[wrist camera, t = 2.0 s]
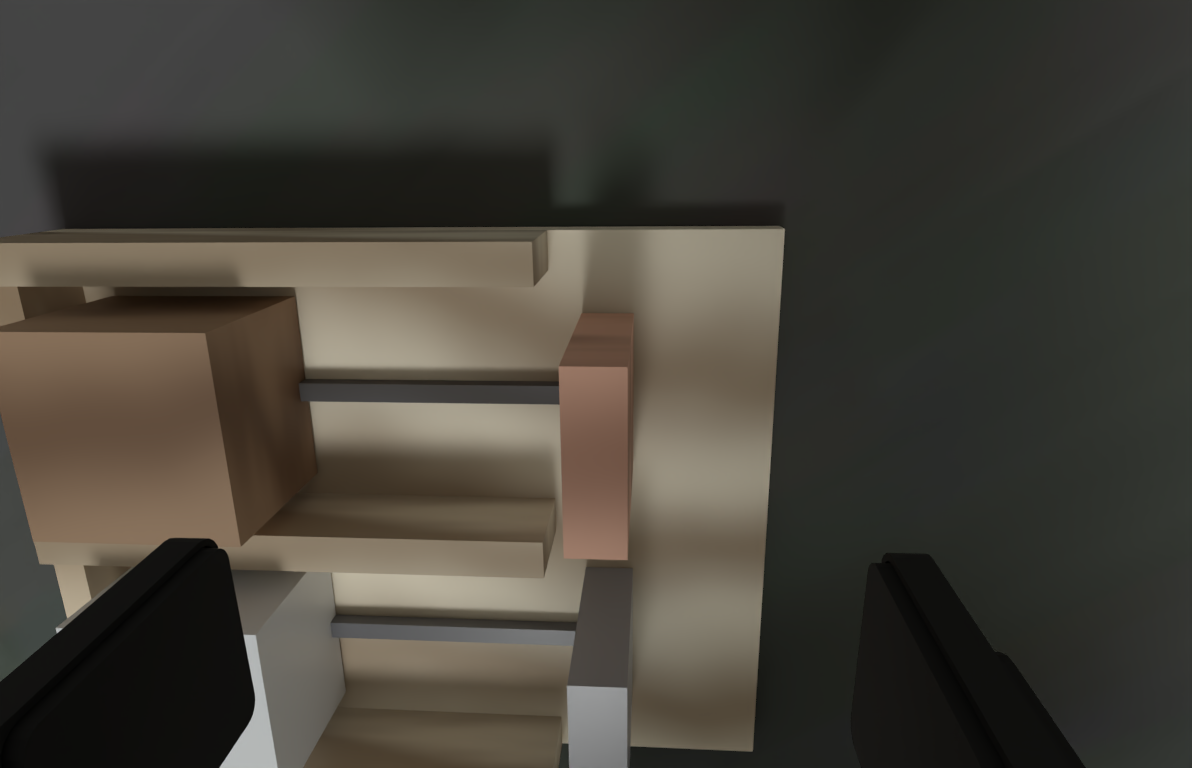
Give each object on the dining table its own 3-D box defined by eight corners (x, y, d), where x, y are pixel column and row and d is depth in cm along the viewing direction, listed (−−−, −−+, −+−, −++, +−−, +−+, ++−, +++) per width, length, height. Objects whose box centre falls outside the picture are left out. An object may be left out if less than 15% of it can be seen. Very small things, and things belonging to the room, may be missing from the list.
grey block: (632, 703, 27) (627, 849, 22) (190, 685, 29) (74, 820, 23) (633, 555, 26) (627, 672, 20) (161, 543, 27) (28, 649, 21)
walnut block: (633, 478, 25) (627, 578, 19) (147, 469, 26) (4, 560, 20) (633, 297, 23) (628, 345, 17) (112, 296, 24) (-56, 341, 18)
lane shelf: (749, 731, 29) (764, 820, 25) (166, 706, 30) (97, 787, 26) (779, 225, 23) (804, 240, 19) (64, 228, 25) (-43, 243, 21)
